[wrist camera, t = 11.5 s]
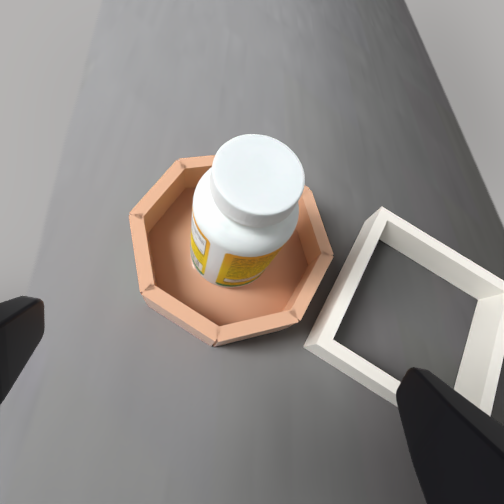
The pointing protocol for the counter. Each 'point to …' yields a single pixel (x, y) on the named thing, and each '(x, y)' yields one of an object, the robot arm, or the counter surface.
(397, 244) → the tray
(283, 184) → the supplement bottle
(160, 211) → the bowl
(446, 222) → the counter surface
